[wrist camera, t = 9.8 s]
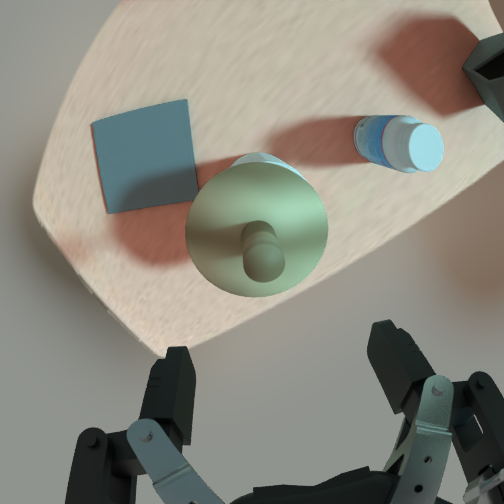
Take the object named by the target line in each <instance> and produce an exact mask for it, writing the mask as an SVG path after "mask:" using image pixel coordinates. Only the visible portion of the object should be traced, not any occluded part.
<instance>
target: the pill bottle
mask: <svg viewBox="0 0 504 504" xmlns="http://www.w3.org/2000/svg"><path fill="white" fill-rule="evenodd" d="M354 144H355V147H356V149H357V151H358V153H359V154H360V155H361V157H363V158H364V159H365V160H367V161H369V162H372V163H375V164H378V165H382V166H385V167H388V168H391V169H394V170H398V171H401V172H404V173H413V172H416V171H418V170H420V171H424V172H429V171H432V170H434V169H435V168H436V167H437V166H438V165H439V164H440V162H441V160H442V157H443V141H442V138H441V136H440V134H439V132H438V131H437V130H436V129H435V128H434V127H433V126H431V125H429V124H425V123H421V122H420V121H419V120H417V119H416V118H414V117H411V116H406V115H374V116H367V117H365V118H363V119H361V120H360V121H359V122H358V124H357V125H356V127H355V130H354Z"/></svg>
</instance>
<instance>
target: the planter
mask: <svg viewBox="0 0 504 504" xmlns="http://www.w3.org/2000/svg"><path fill="white" fill-rule="evenodd" d="M462 68H463V69H464V71H465V72H466V74H467V75H468V77H469V78H470V80H471V82H472V83H473V85H474V86H475V88H476V90H477V91H478V93H479V95H480V96H481V98H482V100H483V102H484V104H485V105H486V106H487V107H488V108H489V109H490V110H491V111H493V112H494V113H495V114H496V115H497V116H498V117H499V118H500V119H501V120H502V121H503V122H504V33H501V34H498V35H494V36H491V37H488V38H486V39H483V40H480V41H479V43H478V44H477V46H476V47H475V49H474V50H473V52H472V53H471V55H470V56H469V58H468V59H467V61H466V62H465V64H464V65H463V67H462Z"/></svg>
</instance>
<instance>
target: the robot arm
mask: <svg viewBox="0 0 504 504" xmlns="http://www.w3.org/2000/svg"><path fill="white" fill-rule="evenodd" d="M367 355H368V359H369V361H370V363H371V365H372V367H373V369H374V371H375V373H376V375H377V378H378V380H379V382H380V384H381V386H382V388H383V390H384V392H385V395H386V397H387V399H388V401H389V403H390V406H391V408H392V410H393V412H394V414H398V413H401V412H403V413H404V415H405V417H404V419H403V422H402V425H401V429H400V432H399V434H398V437H397V440H396V443H395V446H394V449H393V452H392V454H391V456H390V458H389V459H388V461H387V463H386V465H385V467H384V469H383V471H370V469H369V466H366V467H363V468H359V469H356V470H352V471H349V472H345V473H341V474H340V475H338V476H335V477H333V478H331V479H329V480H327V481H325V482H322V483H320V484H318V485H315V486H297V485H274V486H265V487H254V488H253V493H249V494H247V495H244V496H241V497H240V498H238V499H236V500H234V501H233V502H231V503H230V504H452V503H450V502H447V501H446V500H443V499H441V498H439V497H437V494H438V491H439V487H440V484H441V481H442V477H443V474H444V470H445V466H446V463H447V458H448V454H449V450H450V446H451V441H452V442H453V445H454V447H455V449H456V452H457V455H458V457H459V460H460V462H461V465H462V468H463V471H464V474H465V476H466V480H467V482H468V486H467V488H466V491H465V494H464V496H463V501H464V502H465V504H504V398H503V396H502V394H501V393H500V391H499V389H498V387H497V386H496V384H495V383H494V381H493V379H492V378H491V377H490V376H489V375H488V374H487V373H485V372H481V371H478V372H475V373H473V374H472V375H471V376H470V378H469V379H468V381H459V382H451V381H450V380H449V379H448V378H446V377H445V376H442V375H436V373H435V372H434V370H433V369H432V367H431V366H430V364H429V363H428V361H427V359H426V358H425V356H424V355H423V353H422V352H421V351H420V350H419V347H418V346H417V345H416V344H415V341H414V340H413V339H412V337H411V336H410V334H409V333H407V332H406V331H404V330H403V329H402V328H399V329H397V328H396V327H395V325H394V324H393V322H392V321H391V320H390V319H388V320H384V321H379V322H375V323H373V325H372V329H371V333H370V337H369V342H368V346H367ZM195 387H196V373H195V369H194V366H193V363H192V360H191V357H190V354H189V351H188V349H187V347H186V346H177V347H168V349H167V353H166V358H165V359H158V360H157V361H156V362H155V364H154V365H153V366H152V368H151V371H150V375H149V380H148V383H147V388H146V391H145V395H144V399H143V403H142V407H141V412H140V416H139V419H138V420H137V421H135V422H134V423H132V424H131V425H130V427H129V428H128V429H127V430H124V431H120V432H114V433H108V434H106V433H104V431H102V430H101V429H99V428H94V427H93V428H88V429H86V430H84V431H83V432H82V433H81V434H80V435H79V437H78V440H77V444H76V449H75V453H74V457H73V462H72V466H71V471H70V477H69V482H68V487H67V493H66V500H65V504H135V500H136V485H137V475H143V474H148V475H149V477H150V478H151V479H152V482H153V487H154V489H155V490H156V492H157V494H158V495H159V496H160V498H161V499H162V501H163V502H164V503H165V504H225V503H224V502H223V501H222V500H221V499H220V498H219V497H218V496H217V495H216V494H215V493H214V492H213V491H212V489H211V488H210V487H209V486H208V485H207V484H206V483H205V482H204V481H203V479H202V478H201V477H200V476H199V475H198V474H197V472H196V471H195V470H194V469H193V468H192V467H191V465H190V464H189V463H188V462H187V460H186V459H185V458H184V457H183V455H182V446H183V445H190V444H191V432H192V420H193V409H194V397H195ZM474 415H475V416H476V418H477V420H478V422H479V424H480V426H481V428H482V430H483V434H482V431H481V429H480V427H479V425H478V423H477V421H476V419H475V417H474Z"/></svg>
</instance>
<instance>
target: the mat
mask: <svg viewBox="0 0 504 504" xmlns="http://www.w3.org/2000/svg"><path fill="white" fill-rule="evenodd" d="M93 131H94V138H95V145H96V152H97V158H98V164H99V170H100V175H101V180H102V185H103V190H104V195H105V200H106V204H107V209H108V213H109V214H112V213H118V212H124V211H129V210H135V209H141V208H147V207H153V206H160V205H166V204H173V203H180V202H187V201H194V199H195V198H196V196H197V194H198V193H199V190H198V183H197V176H196V168H195V161H194V153H193V145H192V137H191V129H190V120H189V111H188V102H187V99H184V100H178V101H173V102H168V103H163V104H158V105H154V106H149V107H145V108H141V109H137V110H133V111H129V112H125V113H122V114H118V115H115V116H111V117H108V118H105V119H101V120H98V121H95V122H93Z"/></svg>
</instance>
